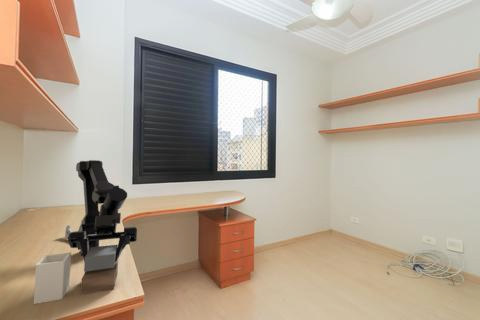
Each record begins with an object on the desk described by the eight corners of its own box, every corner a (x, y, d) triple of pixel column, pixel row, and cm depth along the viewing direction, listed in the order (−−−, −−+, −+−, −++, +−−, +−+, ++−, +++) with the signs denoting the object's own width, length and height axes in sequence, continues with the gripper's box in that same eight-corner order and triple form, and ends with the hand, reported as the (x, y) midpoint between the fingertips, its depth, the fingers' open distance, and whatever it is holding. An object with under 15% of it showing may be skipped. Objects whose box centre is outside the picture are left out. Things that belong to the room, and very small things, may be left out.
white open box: (44, 290, 61) (46, 255, 61) (69, 286, 63) (71, 252, 64) (33, 304, 55) (36, 264, 55) (61, 299, 58) (64, 261, 58)
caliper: (64, 237, 105) (65, 224, 105) (67, 237, 106) (68, 224, 106) (81, 247, 93) (82, 233, 93) (84, 247, 94) (85, 232, 94)
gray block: (90, 260, 68) (90, 247, 68) (117, 256, 71) (117, 244, 71) (84, 271, 61) (84, 257, 61) (114, 267, 64) (114, 253, 64)
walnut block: (88, 277, 69) (89, 263, 69) (117, 273, 72) (118, 259, 72) (80, 295, 59) (81, 278, 60) (114, 289, 63) (114, 273, 63)
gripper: (71, 205, 66) (56, 256, 56) (138, 203, 74) (135, 246, 63) (76, 224, 73) (64, 272, 63) (137, 220, 81) (135, 262, 70)
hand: (101, 263), depth 65 cm, fingers closed on gray block, 7 cm apart
